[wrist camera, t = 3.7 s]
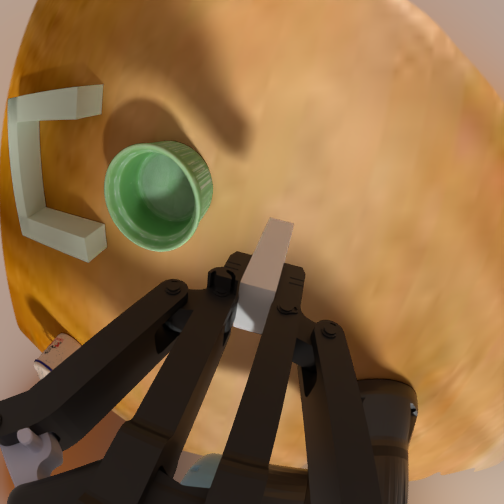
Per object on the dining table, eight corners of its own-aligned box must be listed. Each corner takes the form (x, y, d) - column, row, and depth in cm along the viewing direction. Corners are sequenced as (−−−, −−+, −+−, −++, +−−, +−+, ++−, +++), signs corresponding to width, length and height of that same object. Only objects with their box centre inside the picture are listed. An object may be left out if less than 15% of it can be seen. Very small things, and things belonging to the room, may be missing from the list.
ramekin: (140, 123, 22) (109, 131, 19) (232, 152, 22) (213, 165, 18) (127, 210, 27) (101, 228, 24) (206, 243, 27) (186, 268, 23)
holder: (103, 84, 21) (77, 86, 18) (107, 247, 30) (88, 262, 27) (29, 94, 22) (7, 99, 20) (39, 223, 32) (22, 234, 29)
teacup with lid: (62, 325, 44) (25, 366, 34) (97, 358, 45) (65, 403, 36) (54, 343, 50) (24, 378, 40) (84, 371, 51) (57, 409, 42)
